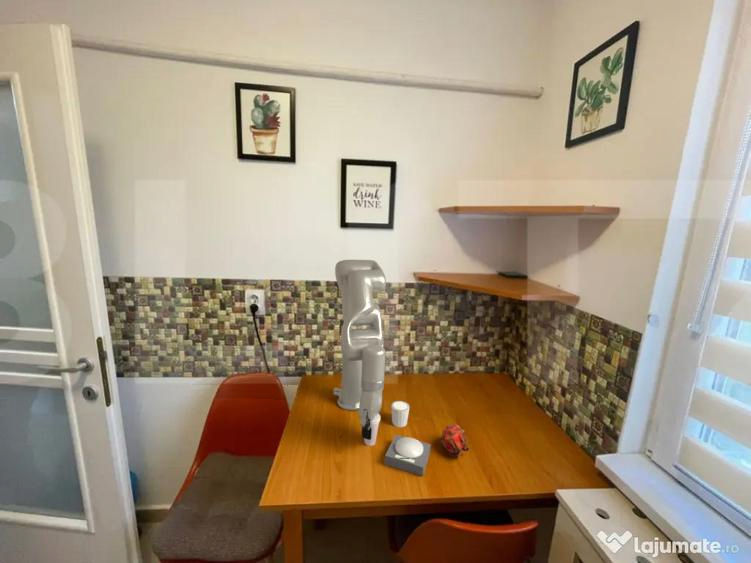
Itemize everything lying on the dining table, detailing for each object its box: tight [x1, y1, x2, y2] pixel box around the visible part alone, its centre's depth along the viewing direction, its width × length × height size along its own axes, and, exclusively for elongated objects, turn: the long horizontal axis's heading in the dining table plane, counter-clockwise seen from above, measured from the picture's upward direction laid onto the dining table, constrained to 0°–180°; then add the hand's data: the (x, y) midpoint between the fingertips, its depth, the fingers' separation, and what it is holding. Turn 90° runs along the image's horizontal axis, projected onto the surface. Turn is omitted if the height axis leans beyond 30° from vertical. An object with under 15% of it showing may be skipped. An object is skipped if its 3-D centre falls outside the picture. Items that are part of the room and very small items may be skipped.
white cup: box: [390, 400, 410, 428], centre depth 117 cm, size 7×7×7 cm
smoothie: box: [363, 414, 381, 447], centre depth 105 cm, size 6×6×14 cm
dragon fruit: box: [440, 423, 470, 458], centre depth 104 cm, size 8×8×12 cm
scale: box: [384, 434, 432, 477], centre depth 99 cm, size 12×11×4 cm
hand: (370, 431), depth 105 cm, fingers closed on smoothie, 6 cm apart
